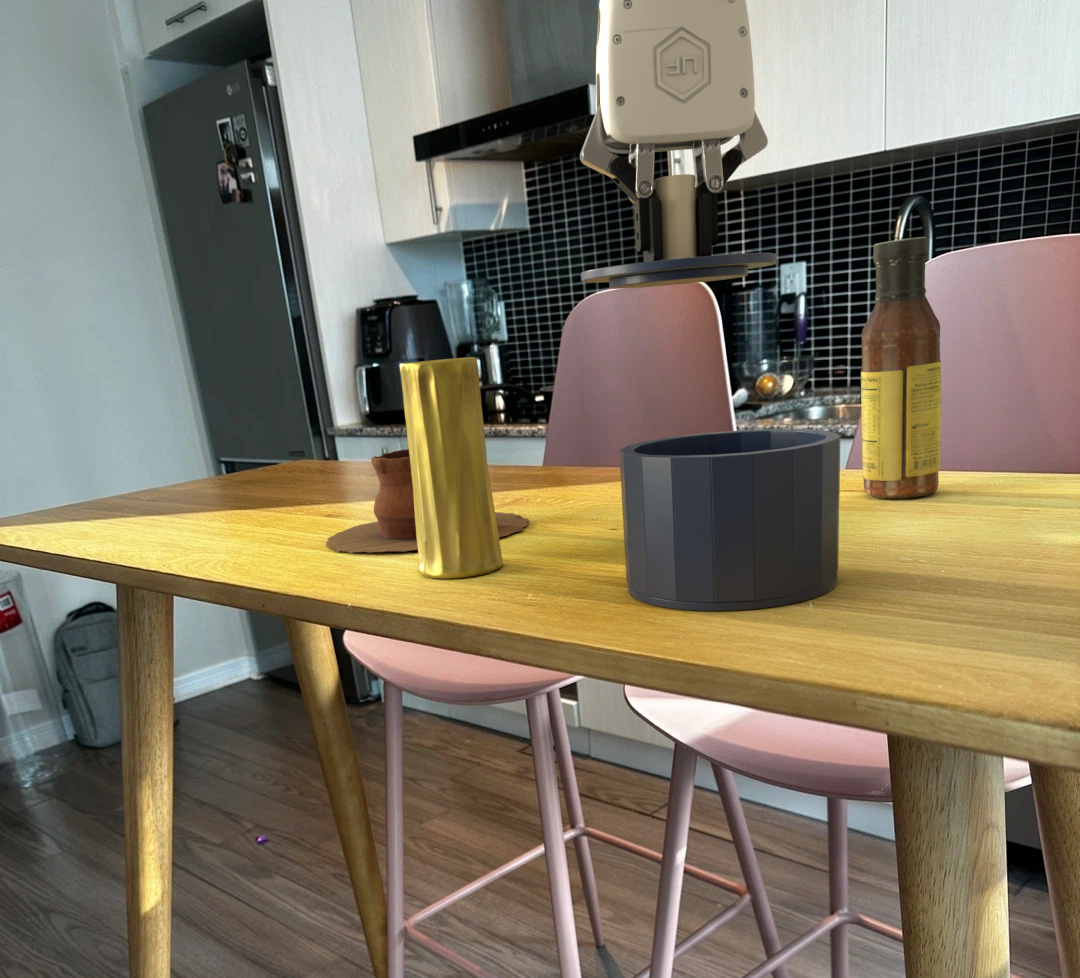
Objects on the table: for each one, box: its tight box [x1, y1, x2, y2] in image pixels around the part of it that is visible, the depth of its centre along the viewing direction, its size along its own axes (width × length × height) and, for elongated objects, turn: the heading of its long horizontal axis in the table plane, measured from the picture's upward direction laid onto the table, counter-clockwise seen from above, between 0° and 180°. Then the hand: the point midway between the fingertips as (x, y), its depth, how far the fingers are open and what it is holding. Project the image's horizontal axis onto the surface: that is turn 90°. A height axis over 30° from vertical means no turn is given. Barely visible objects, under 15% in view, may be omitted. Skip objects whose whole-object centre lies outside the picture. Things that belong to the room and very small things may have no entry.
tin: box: [618, 428, 841, 612], centre depth 62 cm, size 13×13×8 cm
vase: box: [399, 356, 504, 580], centre depth 71 cm, size 6×6×14 cm
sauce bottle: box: [860, 236, 942, 500], centre depth 84 cm, size 6×6×20 cm
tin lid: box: [580, 173, 778, 290], centre depth 72 cm, size 14×14×7 cm
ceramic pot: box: [325, 448, 530, 554], centre depth 88 cm, size 18×18×7 cm
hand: (677, 257), depth 73 cm, fingers closed on tin lid, 2 cm apart
